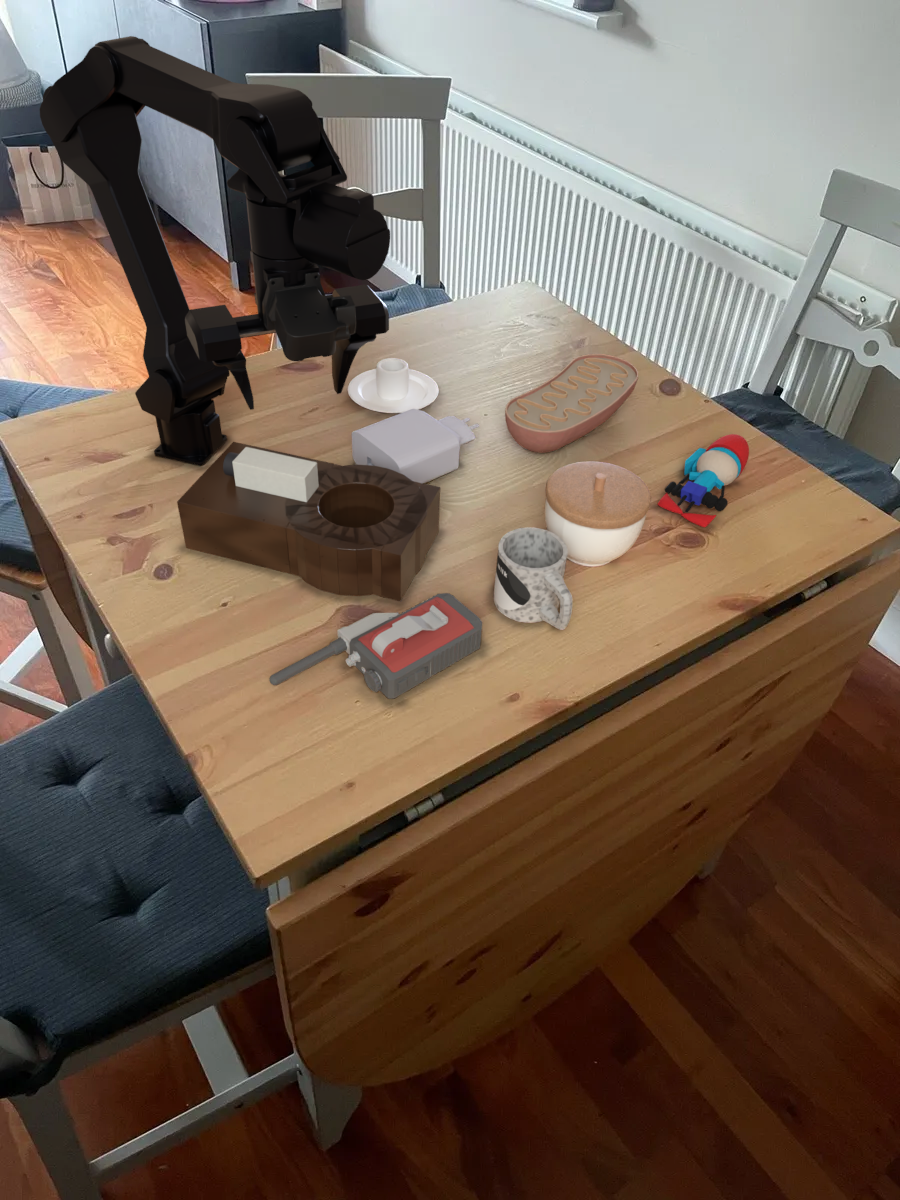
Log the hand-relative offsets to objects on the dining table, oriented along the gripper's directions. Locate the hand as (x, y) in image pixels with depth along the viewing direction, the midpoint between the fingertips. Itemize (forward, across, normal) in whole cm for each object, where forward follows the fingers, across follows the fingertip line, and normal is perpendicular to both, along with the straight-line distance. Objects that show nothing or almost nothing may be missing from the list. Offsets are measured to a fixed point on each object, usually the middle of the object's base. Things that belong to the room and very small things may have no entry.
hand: (295, 399), depth 94 cm
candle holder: (+13, +18, +19) cm, 30 cm away
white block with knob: (+7, -4, -4) cm, 9 cm away
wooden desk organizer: (+13, -1, -7) cm, 15 cm away
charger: (+13, +16, +3) cm, 21 cm away
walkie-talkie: (+13, -1, -26) cm, 30 cm away
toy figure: (+13, +45, -14) cm, 49 cm away
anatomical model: (+13, +37, +4) cm, 39 cm away
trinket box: (+13, +26, -19) cm, 35 cm away
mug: (+13, +16, -25) cm, 33 cm away
